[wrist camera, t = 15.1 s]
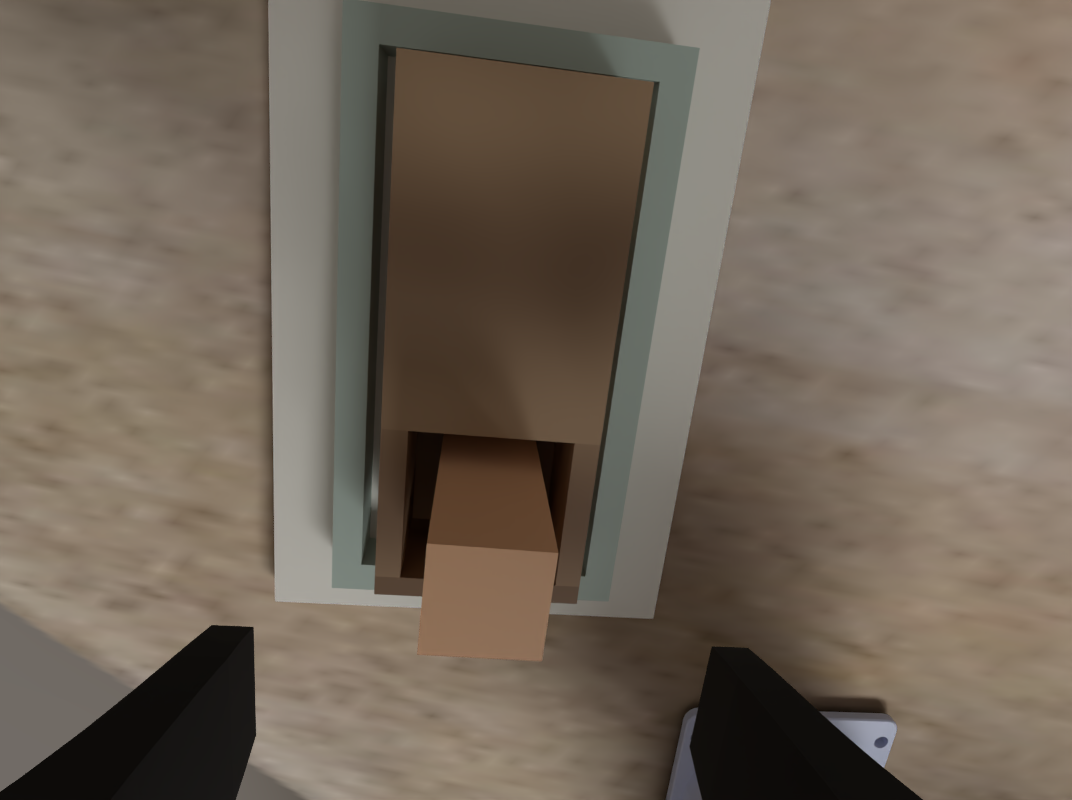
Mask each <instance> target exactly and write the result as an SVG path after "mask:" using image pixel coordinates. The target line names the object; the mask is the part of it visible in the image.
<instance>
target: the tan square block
mask: <svg viewBox="0 0 1072 800" xmlns="http://www.w3.org/2000/svg"><path fill="white" fill-rule="evenodd" d="M558 554H559V553H558V548H557V543H556V538H555V533H554V528H553V523H552V518H551V513H550V508H549V504H548V499H547V494H546V489H545V484H544V479H543V474H542V469H541V464H540V459H539V454H538V450H537V445H536V440H524V439H510V438H497V437H483V436H470V435H456V434H444V435H443V442H442V448H441V455H440V461H439V468H438V474H437V481H436V487H435V494H434V500H433V507H432V513H431V520H430V526H429V533H428V539H427V547H426V559H425V570H424V582H423V593H422V605H421V616H420V628H419V639H418V651H417V655H431V656H450V657H468V658H487V659H506V660H524V661H542V657H543V651H544V644H545V638H546V631H547V625H548V618H549V612H550V605H551V599H552V592H553V586H554V580H555V573H556V567H557V560H558Z"/></svg>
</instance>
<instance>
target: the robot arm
mask: <svg viewBox="0 0 1072 800" xmlns="http://www.w3.org/2000/svg"><path fill="white" fill-rule="evenodd" d="M896 732H897V725H896V723H895V722H894V720H893V719H892V718H891V717H890V716H889V715H888V714H883V713H855V712H824V711H818V710H817V709H816V708H815V707H813V706H812V705H811V704H810V703H809V702H808V701H807V700H806V699H805V698H804V697H803V696H801V695H800V694H799V693H798V692H797V691H796V690H795V689H794V688H793V687H792V686H790V685H789V684H788V683H787V682H786V681H785V680H784V679H783V678H782V677H781V676H779V675H778V674H777V673H776V672H775V671H774V670H773V669H772V668H771V667H770V666H768V665H767V664H766V663H765V662H764V661H763V660H762V659H760V658H759V657H758V656H757V655H756V654H755V653H753V652H752V651H751V650H750V649H748V648H735V647H712V648H711V653H710V657H709V662H708V666H707V671H706V675H705V680H704V684H703V688H702V693H701V697H700V702H699V706H698V708H693V709H691V710H689V711H688V712H687V713H686V714H685V716H684V718H683V723H682V727H681V732H680V737H679V741H678V746H677V750H676V755H675V760H674V764H673V769H672V773H671V778H670V782H669V787H668V792H667V796H666V800H923V799H921V798H920V797H919V796H918V795H916V794H915V793H914V792H913V791H911V790H910V789H909V788H908V787H907V786H905V785H904V784H903V783H902V782H900V781H899V780H898V779H897V778H895V777H894V776H893V775H892V774H890V773H889V772H888V771H887V770H885V769H884V767H885V764H886V761H887V758H888V755H889V752H890V749H891V746H892V743H893V740H894V738H895V735H896ZM255 737H256V717H255V674H254V630H253V627H242V626H218V625H211V626H210V627H209V628H208V629H206V630H205V631H204V632H203V633H201V634H200V635H199V636H198V637H197V638H195V639H194V640H193V641H192V642H190V643H189V644H188V645H187V646H186V647H184V648H183V649H182V650H181V651H180V652H178V653H177V654H176V655H175V656H174V657H173V658H171V659H170V660H169V661H168V662H167V663H165V664H164V665H163V666H162V667H161V668H159V669H158V670H157V671H156V672H155V673H153V674H152V675H151V676H150V677H149V678H148V679H146V680H145V681H144V682H143V683H142V684H140V685H139V686H138V687H137V688H136V689H134V690H133V691H132V692H131V693H129V694H128V695H127V696H126V697H124V698H123V699H122V700H121V701H119V702H118V703H117V704H116V705H114V706H113V707H112V708H111V709H110V710H108V711H107V712H106V713H105V714H103V715H102V716H101V717H100V718H98V719H97V720H96V721H95V722H93V723H92V724H91V725H90V726H89V727H87V728H86V729H85V730H83V731H82V732H81V733H79V734H78V735H77V736H75V737H74V738H73V739H72V740H70V741H69V742H68V743H66V744H65V745H63V746H62V747H61V748H60V749H58V750H57V751H55V752H54V753H53V754H52V755H50V756H49V757H48V758H46V759H45V760H43V761H42V762H41V763H40V764H38V765H37V766H35V767H34V768H33V769H31V770H30V771H29V772H27V773H26V774H25V775H23V776H22V777H21V778H19V779H18V780H16V781H15V782H14V783H12V784H11V785H9V786H8V787H6V788H5V789H4V790H2V791H1V792H0V800H236V797H237V794H238V791H239V788H240V785H241V782H242V778H243V775H244V772H245V769H246V766H247V763H248V759H249V756H250V753H251V750H252V746H253V743H254V740H255Z"/></svg>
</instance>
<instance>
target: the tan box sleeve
mask: <svg viewBox="0 0 1072 800" xmlns="http://www.w3.org/2000/svg"><path fill="white" fill-rule="evenodd" d="M653 87H654V82H650V81H642V80H635V79H627V78H620V77H612V76H605V75H597V74H590V73H582V72H575V71H567V70H560V69H552V68H545V67H537V66H530V65H522V64H515V63H507V62H500V61H492V60H485V59H477V58H470V57H462V56H455V55H447V54H440V53H432V52H425V51H417V50H410V49H402V48H396V69H395V94H394V118H393V143H392V167H391V192H390V216H389V241H388V265H387V290H386V314H385V339H384V363H383V388H382V412H381V437H380V461H379V486H378V510H377V535H376V559H375V584H374V594H380V595H400V596H421V597H422V593H423V582H424V570H425V559H426V547H427V539H428V533H429V526H430V520H431V513H432V507H433V500H434V494H435V487H436V481H437V474H438V468H439V461H440V455H441V448H442V442H443V435H444V434H456V435H470V436H483V437H497V438H510V439H524V440H536V445H537V450H538V454H539V459H540V464H541V469H542V474H543V479H544V484H545V489H546V494H547V499H548V504H549V508H550V513H551V518H552V523H553V528H554V533H555V538H556V543H557V548H558V553H559V554H558V560H557V567H556V573H555V580H554V586H553V592H552V599H551V603H566V604H577V599H578V592H579V586H580V579H581V572H582V565H583V559H584V552H585V545H586V538H587V532H588V525H589V518H590V511H591V505H592V498H593V491H594V484H595V478H596V471H597V464H598V457H599V451H600V444H601V437H602V430H603V424H604V417H605V410H606V403H607V397H608V390H609V383H610V377H611V370H612V363H613V356H614V350H615V343H616V336H617V329H618V323H619V316H620V309H621V302H622V296H623V289H624V282H625V275H626V269H627V262H628V255H629V248H630V242H631V235H632V228H633V221H634V215H635V208H636V201H637V195H638V188H639V181H640V174H641V168H642V161H643V154H644V147H645V141H646V134H647V127H648V120H649V114H650V107H651V100H652V93H653Z"/></svg>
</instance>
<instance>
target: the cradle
mask: <svg viewBox="0 0 1072 800" xmlns="http://www.w3.org/2000/svg"><path fill="white" fill-rule="evenodd" d="M770 3H771V0H268V29H269V117H270V205H271V293H272V381H273V469H274V558H275V601H280V602H302V603H323V604H345V605H366V606H387V607H409V608H421V605H422V597H421V596H400V595H380V594H374V584H375V559H376V535H377V510H378V486H379V461H380V437H381V412H382V388H383V363H384V339H385V314H386V290H387V265H388V241H389V216H390V192H391V167H392V143H393V118H394V94H395V69H396V48H402V49H410V50H417V51H425V52H432V53H440V54H447V55H455V56H462V57H470V58H477V59H485V60H492V61H500V62H507V63H515V64H522V65H530V66H537V67H545V68H552V69H560V70H567V71H575V72H582V73H590V74H597V75H605V76H612V77H620V78H627V79H635V80H642V81H650V82H654V87H653V93H652V100H651V107H650V114H649V120H648V127H647V134H646V141H645V147H644V154H643V161H642V168H641V174H640V181H639V188H638V195H637V201H636V208H635V215H634V221H633V228H632V235H631V242H630V248H629V255H628V262H627V269H626V275H625V282H624V289H623V296H622V302H621V309H620V316H619V323H618V329H617V336H616V343H615V350H614V356H613V363H612V370H611V377H610V383H609V390H608V397H607V403H606V410H605V417H604V424H603V430H602V437H601V444H600V451H599V457H598V464H597V471H596V478H595V484H594V491H593V498H592V505H591V511H590V518H589V525H588V532H587V538H586V545H585V552H584V559H583V565H582V572H581V579H580V586H579V592H578V599H577V604H566V603H551V605H550V612H549V614H559V615H580V616H602V617H623V618H644V619H653V618H654V612H655V607H656V602H657V597H658V591H659V586H660V581H661V576H662V570H663V565H664V560H665V555H666V549H667V544H668V539H669V534H670V528H671V523H672V518H673V513H674V507H675V502H676V497H677V492H678V486H679V481H680V476H681V471H682V465H683V460H684V455H685V450H686V444H687V439H688V434H689V429H690V423H691V418H692V413H693V408H694V402H695V397H696V392H697V387H698V381H699V376H700V371H701V365H702V360H703V355H704V350H705V344H706V339H707V334H708V329H709V323H710V318H711V313H712V308H713V302H714V297H715V292H716V287H717V281H718V276H719V271H720V266H721V260H722V255H723V250H724V245H725V239H726V234H727V229H728V224H729V218H730V213H731V208H732V203H733V197H734V192H735V187H736V182H737V176H738V171H739V166H740V161H741V155H742V150H743V145H744V140H745V134H746V129H747V124H748V119H749V113H750V108H751V103H752V98H753V92H754V87H755V82H756V77H757V71H758V66H759V61H760V56H761V50H762V45H763V40H764V35H765V29H766V24H767V19H768V14H769V8H770Z"/></svg>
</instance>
